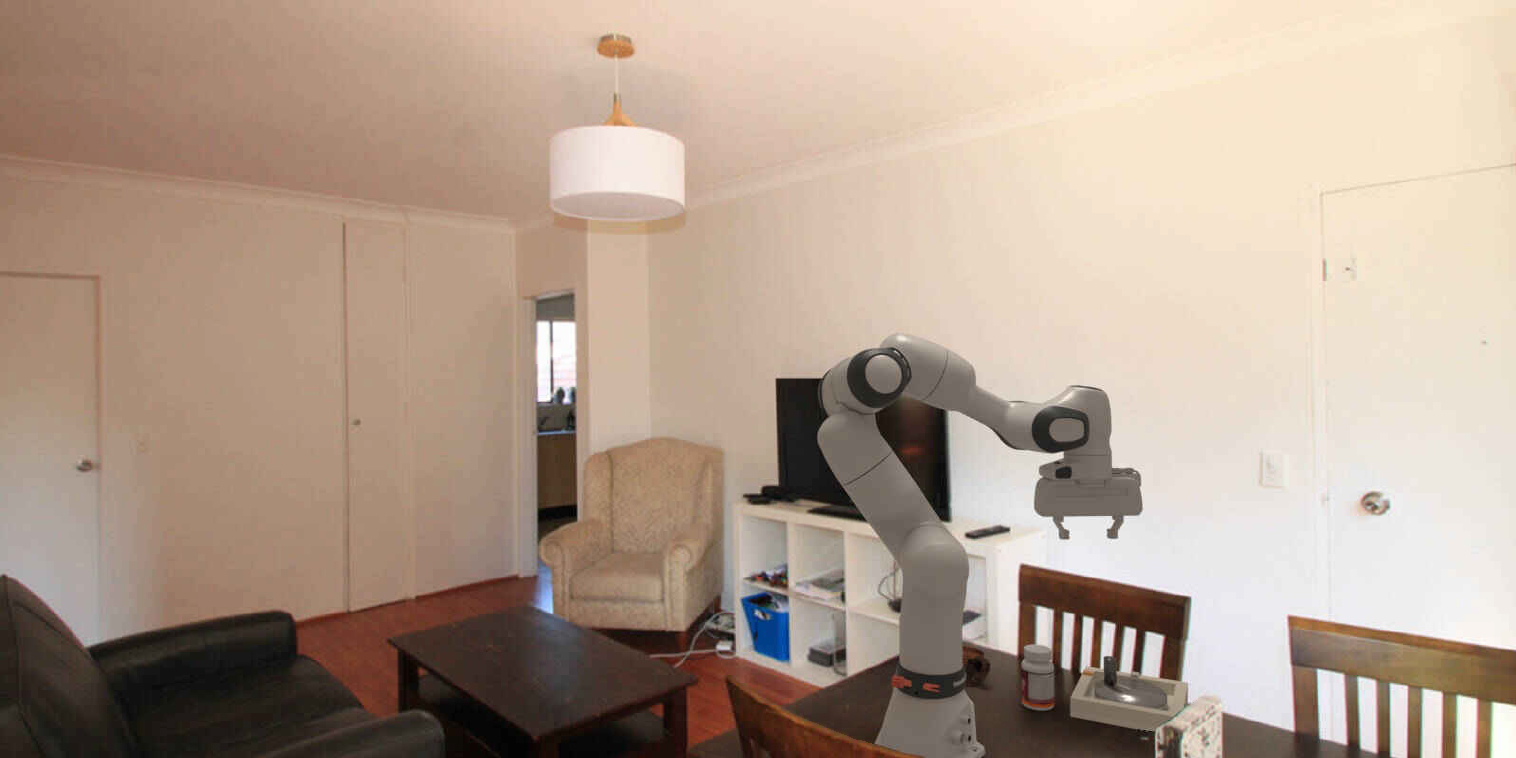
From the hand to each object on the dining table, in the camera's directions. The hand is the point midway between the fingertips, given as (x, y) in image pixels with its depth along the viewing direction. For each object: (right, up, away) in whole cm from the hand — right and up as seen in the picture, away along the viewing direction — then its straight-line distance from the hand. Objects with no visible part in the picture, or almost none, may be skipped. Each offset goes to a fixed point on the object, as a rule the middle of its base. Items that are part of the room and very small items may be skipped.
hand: (1088, 538), depth 161 cm
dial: (+8, -32, -1) cm, 32 cm away
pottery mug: (-20, -34, +15) cm, 42 cm away
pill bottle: (-9, -33, +1) cm, 35 cm away
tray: (+8, -33, -1) cm, 34 cm away
